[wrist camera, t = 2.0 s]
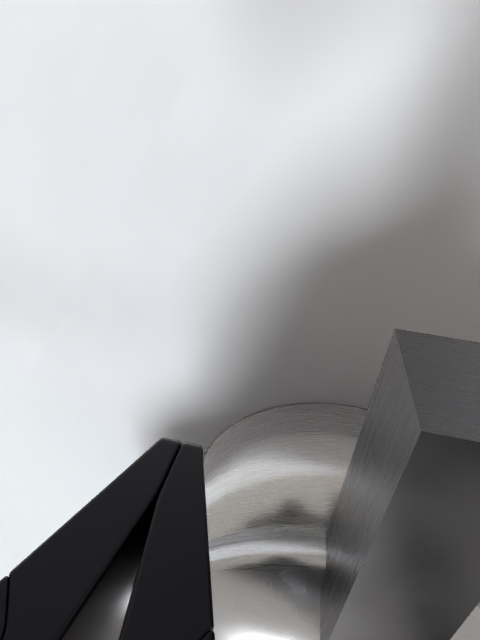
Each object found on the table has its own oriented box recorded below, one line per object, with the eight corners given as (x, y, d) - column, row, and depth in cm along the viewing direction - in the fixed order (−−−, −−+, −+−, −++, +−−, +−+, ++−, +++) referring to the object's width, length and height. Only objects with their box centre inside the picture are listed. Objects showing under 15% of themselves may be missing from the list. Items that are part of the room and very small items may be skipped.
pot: (210, 583, 23) (184, 696, 19) (102, 445, 19) (37, 553, 15) (672, 552, 16) (795, 724, 12) (672, 318, 12) (868, 459, 7)
